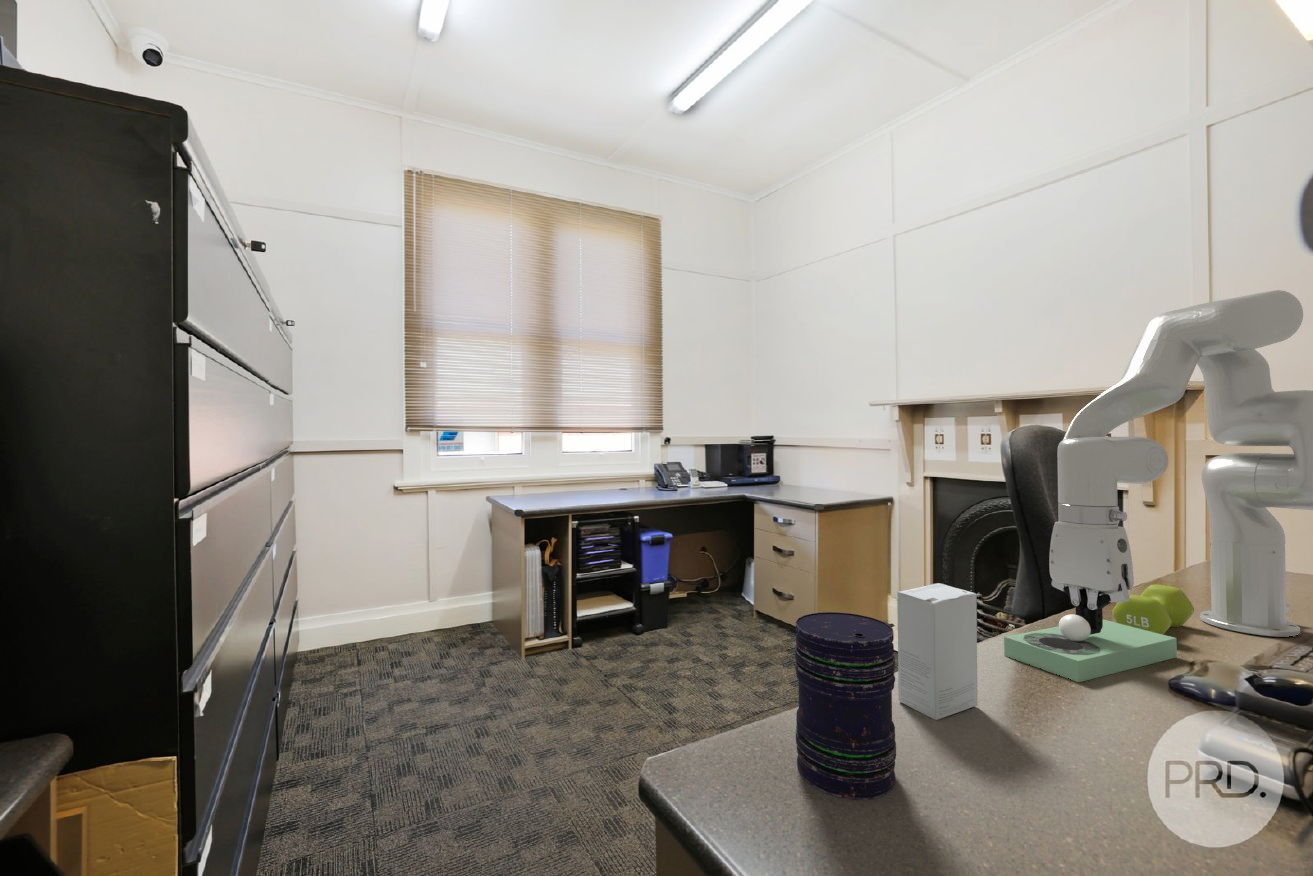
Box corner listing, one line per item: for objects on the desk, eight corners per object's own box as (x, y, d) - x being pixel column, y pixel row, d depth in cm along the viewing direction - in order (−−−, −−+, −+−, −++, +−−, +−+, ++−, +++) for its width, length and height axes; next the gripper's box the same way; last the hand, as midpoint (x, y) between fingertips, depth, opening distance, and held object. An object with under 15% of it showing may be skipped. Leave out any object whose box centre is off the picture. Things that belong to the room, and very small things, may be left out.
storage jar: (779, 751, 62) (778, 615, 62) (859, 740, 64) (858, 609, 65) (826, 808, 52) (825, 646, 53) (918, 792, 55) (916, 637, 55)
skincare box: (939, 690, 77) (937, 581, 78) (981, 708, 72) (979, 591, 72) (895, 703, 74) (894, 588, 74) (936, 723, 68) (934, 599, 68)
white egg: (1053, 612, 89) (1052, 637, 89) (1080, 619, 85) (1079, 646, 85) (1069, 610, 91) (1069, 635, 90) (1096, 617, 87) (1096, 643, 87)
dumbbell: (1142, 617, 109) (1141, 580, 109) (1198, 629, 103) (1197, 589, 103) (1108, 633, 100) (1107, 593, 100) (1167, 647, 94) (1166, 603, 94)
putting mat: (1099, 635, 99) (1099, 618, 99) (1176, 657, 89) (1176, 638, 89) (1004, 655, 90) (1004, 636, 90) (1078, 682, 80) (1078, 661, 80)
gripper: (1157, 520, 84) (1160, 644, 84) (1054, 510, 98) (1056, 616, 98) (1127, 523, 81) (1129, 651, 81) (1025, 512, 95) (1026, 621, 95)
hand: (1089, 632), depth 89 cm, fingers closed
